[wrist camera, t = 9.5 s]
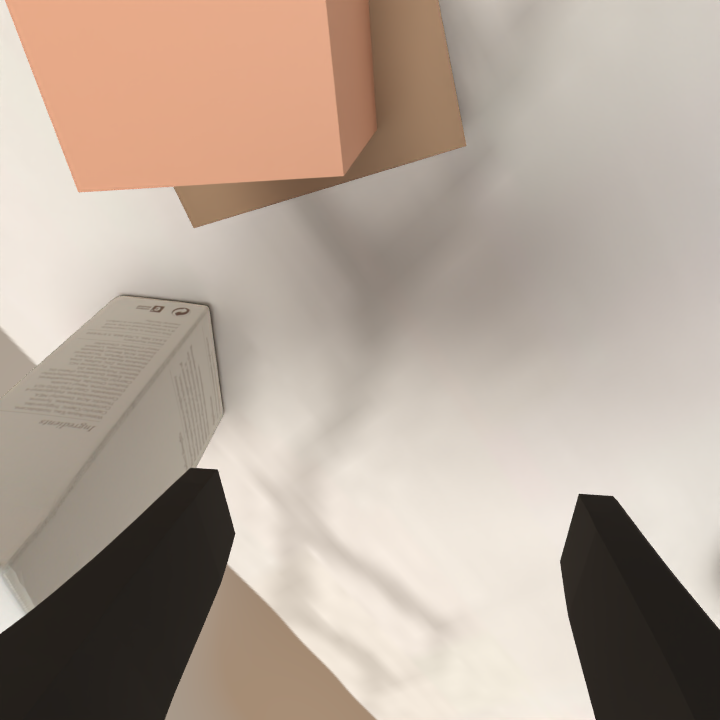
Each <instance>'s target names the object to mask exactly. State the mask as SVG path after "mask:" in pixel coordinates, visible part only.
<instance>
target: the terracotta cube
mask: <svg viewBox="0 0 720 720" xmlns="http://www.w3.org/2000/svg"><path fill="white" fill-rule="evenodd" d="M5 1H6V4H7V7H8V9H9V12H10V14H11V17H12V20H13V22H14V25H15V27H16V30H17V33H18V35H19V38H20V41H21V43H22V46H23V48H24V51H25V54H26V56H27V59H28V61H29V64H30V67H31V69H32V72H33V75H34V77H35V80H36V82H37V85H38V88H39V90H40V93H41V95H42V98H43V101H44V103H45V106H46V109H47V111H48V114H49V116H50V119H51V122H52V124H53V127H54V129H55V132H56V135H57V137H58V140H59V143H60V145H61V148H62V150H63V153H64V156H65V158H66V161H67V164H68V166H69V169H70V171H71V174H72V177H73V179H74V182H75V184H76V187H77V190H78V192H92V191H108V190H124V189H141V188H157V187H173V186H190V185H206V184H222V183H239V182H255V181H271V180H288V179H304V178H320V177H337V176H344V175H345V174H346V172H347V171H348V169H349V168H350V167H351V165H352V164H353V162H354V161H355V160H356V158H357V157H358V155H359V154H360V153H361V151H362V150H363V148H364V147H365V146H366V144H367V143H368V141H369V140H370V139H371V137H372V136H373V134H374V133H375V132H376V130H377V121H376V106H375V90H374V75H373V60H372V44H371V29H370V13H369V0H5Z"/></svg>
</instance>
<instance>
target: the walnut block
mask: <svg viewBox="0 0 720 720" xmlns="http://www.w3.org/2000/svg"><path fill="white" fill-rule="evenodd" d="M369 13H370V29H371V44H372V60H373V75H374V90H375V106H376V121H377V130H376V132H375V133H374V134H373V136H372V137H371V139H370V140H369V141H368V143H367V144H366V146H365V147H364V148H363V150H362V151H361V153H360V154H359V155H358V157H357V158H356V160H355V161H354V162H353V164H352V165H351V167H350V168H349V169H348V171H347V172H346V174H345V175H344V176H337V177H320V178H304V179H288V180H271V181H255V182H239V183H222V184H206V185H190V186H173V187H174V189H175V191H176V193H177V195H178V197H179V199H180V201H181V203H182V205H183V207H184V209H185V211H186V213H187V215H188V217H189V219H190V221H191V224H192V226H193V228H196V227H199V226H203V225H206V224H209V223H213V222H216V221H219V220H223V219H226V218H229V217H232V216H236V215H239V214H242V213H246V212H249V211H252V210H256V209H259V208H262V207H266V206H269V205H272V204H276V203H279V202H282V201H285V200H289V199H292V198H295V197H299V196H302V195H305V194H309V193H312V192H315V191H319V190H322V189H325V188H328V187H332V186H335V185H338V184H342V183H345V182H348V181H352V180H355V179H358V178H362V177H365V176H368V175H372V174H375V173H378V172H381V171H385V170H388V169H391V168H395V167H398V166H401V165H405V164H408V163H411V162H415V161H418V160H421V159H424V158H428V157H431V156H434V155H438V154H441V153H444V152H448V151H451V150H454V149H458V148H461V147H464V146H466V141H465V136H464V131H463V126H462V121H461V116H460V110H459V105H458V100H457V95H456V90H455V85H454V79H453V74H452V69H451V64H450V59H449V53H448V48H447V43H446V38H445V33H444V28H443V22H442V17H441V12H440V7H439V2H438V0H369Z"/></svg>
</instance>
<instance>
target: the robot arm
mask: <svg viewBox="0 0 720 720" xmlns="http://www.w3.org/2000/svg"><path fill="white" fill-rule="evenodd" d="M234 536H235V531H234V527H233V524H232V520H231V516H230V513H229V509H228V505H227V502H226V498H225V494H224V491H223V487H222V483H221V480H220V476H219V472H218V470H216V469H202V468H190V469H188V470H187V471H186V472H185V473H184V474H183V475H182V476H181V477H180V478H179V479H178V480H177V481H175V482H174V483H173V484H172V485H171V486H170V487H169V488H168V489H167V490H166V491H165V492H164V493H163V494H162V495H161V496H160V497H159V498H158V499H157V500H156V501H154V502H153V503H152V504H151V505H150V506H149V507H148V508H147V509H146V510H145V511H144V512H143V513H142V514H141V515H140V516H139V517H138V518H137V519H135V520H134V521H133V522H132V523H131V524H130V525H129V526H128V527H127V528H126V529H125V530H124V531H123V532H121V533H120V534H119V535H118V536H117V537H116V538H115V539H114V540H113V541H112V542H111V543H109V544H108V545H107V546H106V547H105V548H104V549H103V550H102V551H101V552H100V553H99V554H97V555H96V556H95V557H94V558H93V559H92V560H91V561H89V562H88V563H87V564H86V565H85V566H84V567H82V568H81V569H80V570H79V571H78V572H77V573H75V574H74V575H73V576H72V577H71V578H70V579H68V580H67V581H66V582H65V583H64V584H63V585H61V586H60V587H59V588H58V589H57V590H56V591H54V592H53V593H52V594H51V595H49V596H48V597H47V598H46V599H45V600H43V601H42V602H41V603H40V604H38V605H37V606H36V607H35V608H33V609H32V610H31V611H30V612H28V613H27V614H26V615H24V616H23V617H22V618H21V619H19V620H18V621H17V622H15V623H14V624H13V625H11V626H10V627H9V628H7V629H6V630H5V631H3V632H2V633H1V634H0V720H165V717H166V714H167V712H168V709H169V707H170V704H171V701H172V698H173V696H174V693H175V691H176V689H177V686H178V684H179V682H180V679H181V677H182V675H183V672H184V670H185V667H186V665H187V663H188V660H189V658H190V655H191V653H192V651H193V648H194V646H195V644H196V642H197V639H198V637H199V634H200V632H201V630H202V627H203V625H204V623H205V620H206V618H207V615H208V613H209V611H210V608H211V606H212V603H213V601H214V598H215V596H216V594H217V591H218V589H219V586H220V584H221V581H222V578H223V575H224V571H225V568H226V565H227V562H228V558H229V555H230V551H231V547H232V544H233V540H234ZM560 564H561V571H562V578H563V585H564V592H565V599H566V605H567V611H568V617H569V621H570V625H571V629H572V632H573V636H574V640H575V644H576V648H577V651H578V655H579V659H580V663H581V667H582V670H583V674H584V678H585V681H586V685H587V689H588V693H589V696H590V700H591V704H592V707H593V711H594V715H595V719H596V720H720V629H719V628H718V627H717V626H716V625H715V624H714V622H713V621H712V620H711V619H710V618H709V616H708V615H707V614H706V613H705V612H704V610H703V609H702V608H701V607H700V606H699V604H698V603H697V602H696V601H695V600H694V598H693V597H692V596H691V595H690V594H689V592H688V591H687V590H686V589H685V588H684V586H683V585H682V584H681V583H680V581H679V580H678V579H677V578H676V576H675V575H674V574H673V573H672V571H671V570H670V569H669V568H668V566H667V565H666V564H665V563H664V561H663V560H662V559H661V557H660V556H659V555H658V554H657V552H656V551H655V550H654V548H653V547H652V546H651V545H650V543H649V542H648V541H647V539H646V538H645V537H644V535H643V534H642V533H641V532H640V530H639V529H638V528H637V526H636V525H635V524H634V522H633V521H632V520H631V518H630V517H629V516H628V514H627V513H626V512H625V510H624V509H623V508H622V506H621V505H620V504H619V502H618V501H617V500H616V499H615V498H614V497H613V496H603V495H588V494H579V496H578V499H577V503H576V506H575V510H574V513H573V517H572V521H571V524H570V528H569V531H568V535H567V539H566V542H565V546H564V549H563V553H562V556H561V560H560Z"/></svg>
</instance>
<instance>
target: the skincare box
mask: <svg viewBox="0 0 720 720" xmlns="http://www.w3.org/2000/svg"><path fill="white" fill-rule="evenodd" d="M222 417H223V406H222V400H221V392H220V385H219V377H218V370H217V362H216V355H215V348H214V340H213V333H212V325H211V318H210V311H209V308H208V306H205V305H197V304H191V303H184V302H178V301H168V300H159V299H152V298H143V297H131V296H118V297H116V298H114V299H113V300H111V301H110V302H109V303H108V304H107V305H106V306H105V307H104V308H102V309H101V310H100V311H99V312H98V313H97V314H96V315H94V316H93V317H92V318H91V319H90V320H89V321H88V322H86V323H85V324H84V325H83V326H82V327H81V328H80V329H78V330H77V331H76V332H75V333H74V334H73V335H71V336H70V337H69V338H68V339H67V340H66V341H65V342H64V343H63V344H61V345H60V346H59V347H58V348H57V349H56V350H55V351H53V352H52V353H51V354H50V355H49V356H48V357H47V358H45V359H44V360H43V361H42V362H41V363H40V364H39V365H37V366H36V367H35V368H34V369H33V370H32V371H31V372H29V373H28V374H27V375H26V376H25V377H24V378H23V379H22V380H20V381H19V382H18V383H17V384H16V385H15V386H14V387H13V388H11V389H10V390H9V391H8V392H7V393H6V394H5V395H4V396H2V397H1V398H0V634H1V633H2V632H3V631H5V630H6V629H7V628H9V627H10V626H11V625H13V624H14V623H15V622H17V621H18V620H19V619H21V618H22V617H23V616H24V615H26V614H27V613H28V612H30V611H31V610H32V609H33V608H35V607H36V606H37V605H38V604H40V603H41V602H42V601H43V600H45V599H46V598H47V597H48V596H49V595H51V594H52V593H53V592H54V591H56V590H57V589H58V588H59V587H60V586H61V585H63V584H64V583H65V582H66V581H67V580H68V579H70V578H71V577H72V576H73V575H74V574H75V573H77V572H78V571H79V570H80V569H81V568H82V567H84V566H85V565H86V564H87V563H88V562H89V561H91V560H92V559H93V558H94V557H95V556H96V555H97V554H99V553H100V552H101V551H102V550H103V549H104V548H105V547H106V546H107V545H108V544H109V543H111V542H112V541H113V540H114V539H115V538H116V537H117V536H118V535H119V534H120V533H121V532H123V531H124V530H125V529H126V528H127V527H128V526H129V525H130V524H131V523H132V522H133V521H134V520H135V519H137V518H138V517H139V516H140V515H141V514H142V513H143V512H144V511H145V510H146V509H147V508H148V507H149V506H150V505H151V504H152V503H153V502H154V501H156V500H157V499H158V498H159V497H160V496H161V495H162V494H163V493H164V492H165V491H166V490H167V489H168V488H169V487H170V486H171V485H172V484H173V483H174V482H175V481H177V480H178V479H179V478H180V477H181V476H182V475H183V474H184V473H185V472H186V471H187V470H188V469H190V468H196V467H197V465H198V463H199V461H200V459H201V457H202V455H203V453H204V452H205V450H206V448H207V446H208V444H209V442H210V440H211V438H212V436H213V434H214V432H215V430H216V428H217V426H218V424H219V423H220V421H221V419H222Z"/></svg>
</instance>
